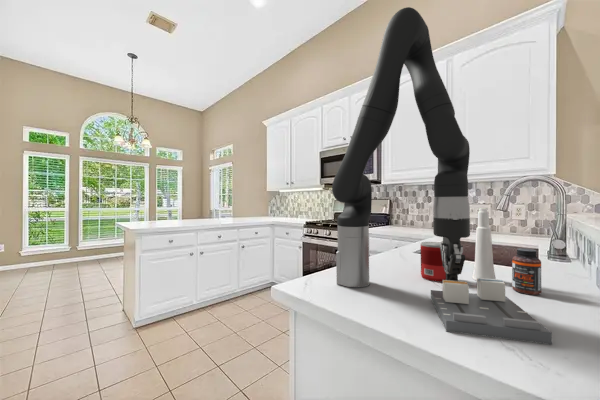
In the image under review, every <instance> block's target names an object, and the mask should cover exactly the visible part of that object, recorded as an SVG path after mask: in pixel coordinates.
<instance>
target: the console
mask: <svg viewBox="0 0 600 400" xmlns="http://www.w3.org/2000/svg"><path fill="white" fill-rule="evenodd" d="M430 300H431V301H432V304H433V306H434V308H435V309H436V313H437V314H438V316H439V318H440V321H441V323H442V325H443V327H444V329H445V331H446V332H448V333H457V334H464V335H472V336H473V335H474V336H482V337H487V338H488V337H490V338H497V339H505V340H506V339H507V340H514V341H521V342H529V343H536V342H537V344H547V345H553V333H552V331H551V330H549V329H548V328H547V327H546V326H544V325H543V324H541V323H540V322H539V321H538V320H537V319H535V318H534V317H533V316H531V314H529V312H527V311H525V310H524V309H523V308H522V307H520V306H519V305H517V303H515V302H514V301H513V300H511V299H510V298H509V297H508V296H506V295H505V302H504V301H493V300H482V299H481V298H480V297H479V296H478V295H477V293H471V292H469V304H462V303H452V302H445V300H444V299H443V290H436V289H435V290H434V289H430Z"/></svg>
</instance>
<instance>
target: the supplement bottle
mask: <svg viewBox="0 0 600 400" xmlns="http://www.w3.org/2000/svg"><path fill="white" fill-rule="evenodd" d="M511 260H512V261H511V265H512V266H511V267H512V268H511V269H512V274H511V276H512V277H511V279H512V280H511V284H512V285H511V287H512V289H513V291H515V292H517V293H520V294H524V295H531V296H538V295H541V294H542V260H541V259H540V258H539V257H537V250H535V249H532V248H522V247H521V248H519V247H518V248H516V255H514V256H513V257H512V259H511Z"/></svg>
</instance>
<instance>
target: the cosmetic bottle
mask: <svg viewBox="0 0 600 400" xmlns="http://www.w3.org/2000/svg"><path fill="white" fill-rule="evenodd" d="M489 214H490V213H489V211H488V208H484V207H480V208H478V212H477V227H476V229H475V230H476V231H475V249H474V250H475V251H474V266H473V273H472V277H471V278H472V280H474V281H476V282H477V278H484V279H497V278H496V271H495V267H494V258H493V257H494V255H493V244H492V243H493V242H492V241H493V240H492V239H493V238H492V228H491V227H490V215H489Z"/></svg>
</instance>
